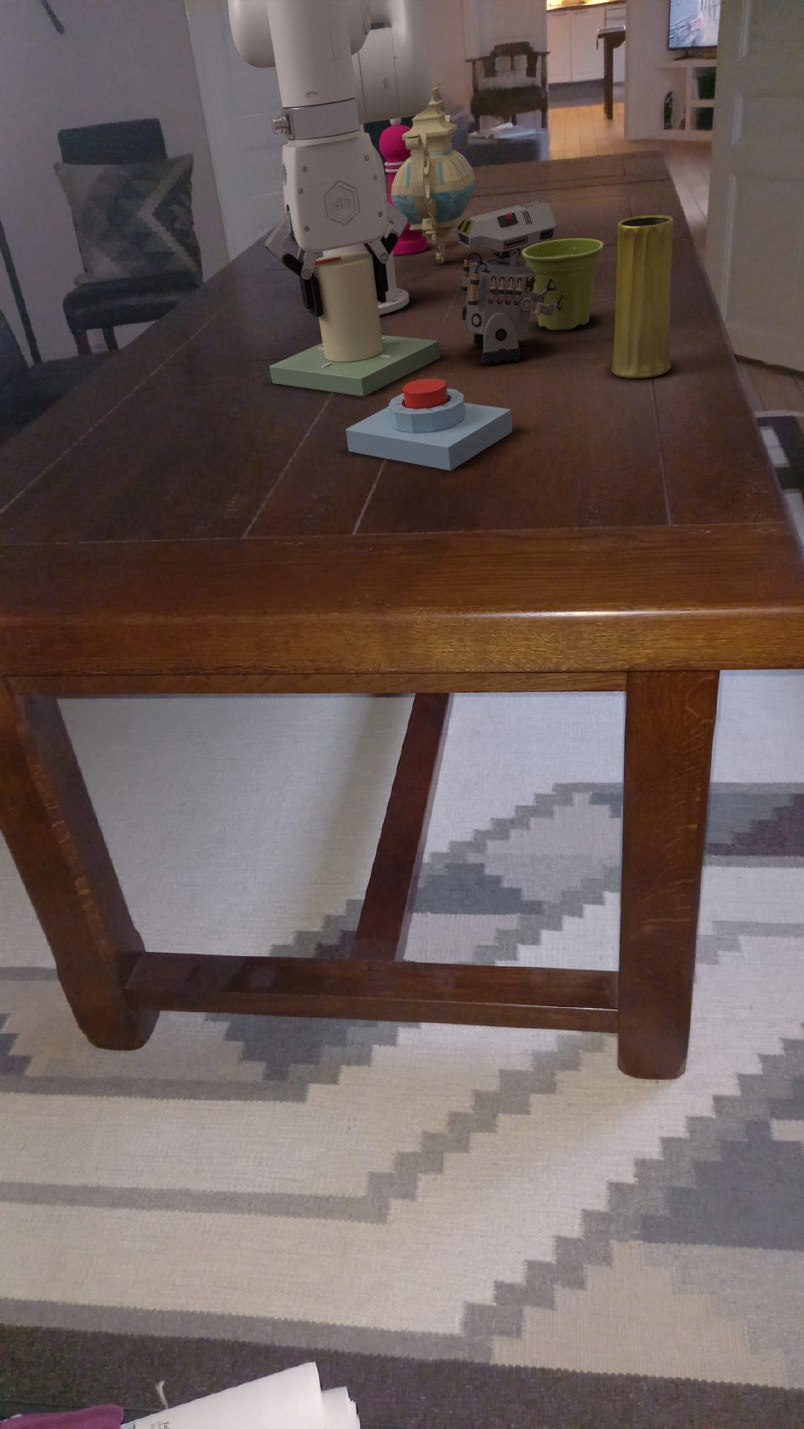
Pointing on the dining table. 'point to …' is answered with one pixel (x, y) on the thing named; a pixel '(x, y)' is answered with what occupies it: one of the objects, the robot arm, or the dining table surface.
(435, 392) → the button
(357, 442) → the button box
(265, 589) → the dining table surface
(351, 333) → the cream cylinder red stripe
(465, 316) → the figurine
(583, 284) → the plant pot
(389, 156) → the pepper mill
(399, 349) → the swivel stand
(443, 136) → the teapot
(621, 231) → the vase
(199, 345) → the dining table surface
